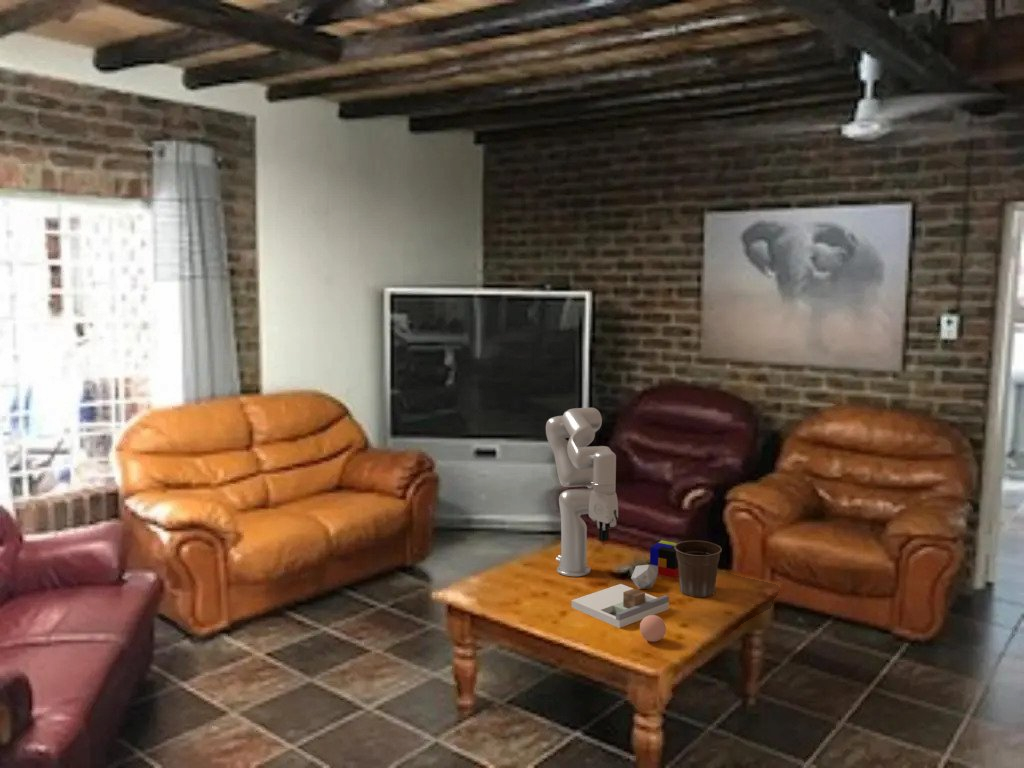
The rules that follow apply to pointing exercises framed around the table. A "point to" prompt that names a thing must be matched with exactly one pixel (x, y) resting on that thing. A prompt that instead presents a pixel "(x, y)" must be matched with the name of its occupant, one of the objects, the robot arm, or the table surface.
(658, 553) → the puzzle toy
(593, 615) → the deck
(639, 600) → the block
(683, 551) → the plant pot
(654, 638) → the toy ball
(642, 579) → the die
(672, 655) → the table surface
